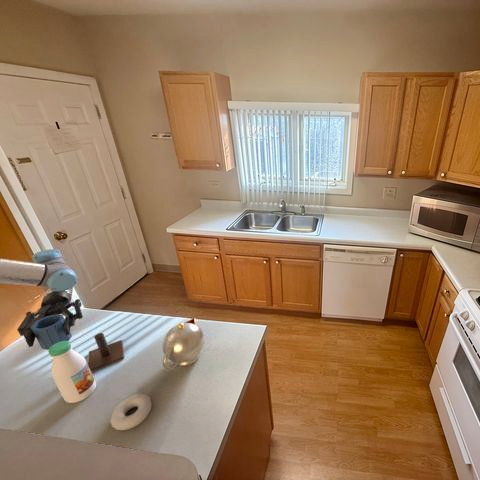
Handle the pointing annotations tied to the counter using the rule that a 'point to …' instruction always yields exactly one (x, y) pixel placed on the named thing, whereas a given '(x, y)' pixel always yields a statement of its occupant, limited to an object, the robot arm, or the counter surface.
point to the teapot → (183, 344)
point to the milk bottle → (71, 373)
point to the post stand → (105, 353)
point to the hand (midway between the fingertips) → (48, 337)
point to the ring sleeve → (50, 331)
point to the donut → (128, 422)
